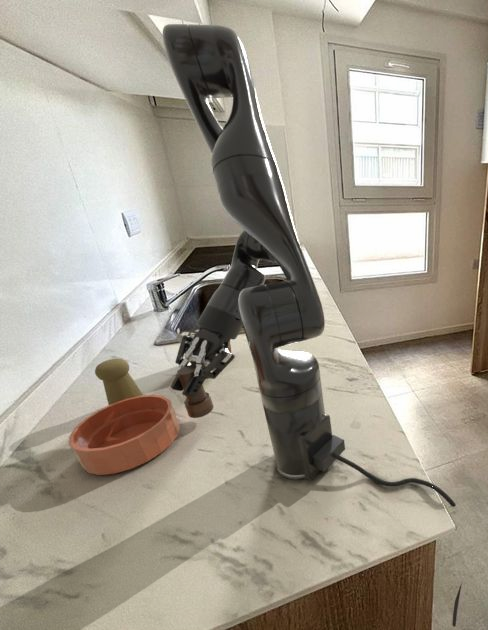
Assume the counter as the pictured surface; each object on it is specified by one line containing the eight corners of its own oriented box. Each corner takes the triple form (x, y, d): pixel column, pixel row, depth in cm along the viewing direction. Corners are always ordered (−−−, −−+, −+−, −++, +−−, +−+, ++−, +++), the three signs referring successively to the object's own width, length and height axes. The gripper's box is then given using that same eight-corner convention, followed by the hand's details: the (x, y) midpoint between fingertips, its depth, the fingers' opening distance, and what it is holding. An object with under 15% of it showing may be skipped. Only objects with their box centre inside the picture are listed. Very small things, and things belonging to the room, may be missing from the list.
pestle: (218, 407, 68) (205, 367, 64) (196, 421, 64) (182, 379, 60) (205, 400, 70) (192, 360, 66) (183, 413, 66) (168, 372, 62)
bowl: (196, 433, 65) (187, 409, 62) (106, 490, 53) (92, 464, 51) (156, 409, 71) (147, 386, 68) (68, 456, 59) (53, 431, 57)
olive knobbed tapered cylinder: (104, 408, 71) (83, 365, 66) (137, 392, 76) (119, 351, 71) (118, 418, 68) (97, 373, 64) (151, 401, 73) (134, 359, 68)
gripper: (190, 297, 67) (141, 377, 63) (235, 312, 61) (185, 402, 57) (221, 311, 74) (179, 385, 69) (264, 326, 68) (222, 407, 63)
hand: (182, 392), depth 63 cm, fingers closed on pestle, 3 cm apart
